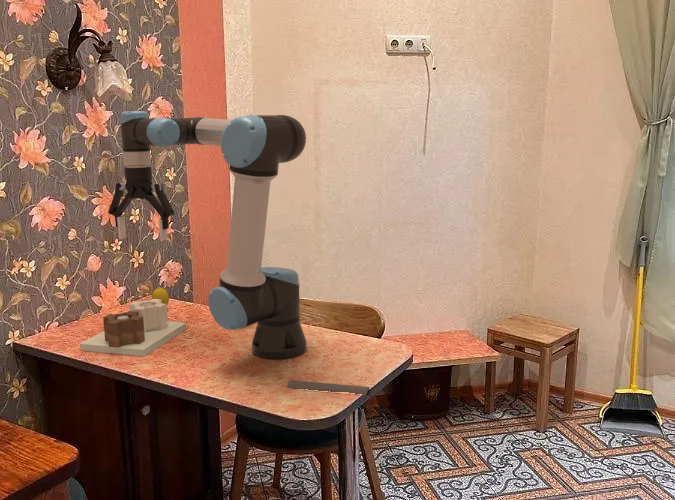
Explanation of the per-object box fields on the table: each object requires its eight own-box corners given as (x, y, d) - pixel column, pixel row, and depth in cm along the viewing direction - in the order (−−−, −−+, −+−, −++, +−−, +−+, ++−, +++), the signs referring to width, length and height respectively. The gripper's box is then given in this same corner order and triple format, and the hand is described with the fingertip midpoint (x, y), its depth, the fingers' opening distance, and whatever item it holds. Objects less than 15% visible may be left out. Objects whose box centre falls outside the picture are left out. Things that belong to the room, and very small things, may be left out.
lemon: (149, 312, 221) (148, 289, 219) (156, 307, 226) (155, 284, 224) (165, 312, 220) (163, 289, 218) (172, 308, 225) (170, 285, 223)
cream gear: (155, 333, 193) (154, 310, 191) (123, 330, 195) (121, 307, 194) (174, 322, 203) (173, 300, 201) (143, 319, 206) (141, 298, 204)
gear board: (186, 329, 203) (184, 300, 201) (143, 356, 180) (141, 325, 178) (128, 324, 208) (126, 296, 206) (80, 350, 186) (77, 319, 184)
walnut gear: (152, 335, 191) (150, 312, 189) (131, 348, 180) (129, 324, 179) (119, 333, 193) (117, 310, 192) (96, 345, 183) (94, 321, 182)
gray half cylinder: (292, 384, 163) (291, 377, 162) (370, 391, 158) (370, 384, 157) (286, 391, 159) (286, 384, 158) (366, 398, 154) (366, 391, 153)
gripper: (183, 165, 190) (187, 238, 194) (107, 164, 196) (113, 235, 201) (170, 167, 183) (174, 243, 187) (91, 166, 189) (98, 239, 194)
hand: (143, 239), depth 194 cm, fingers open, 13 cm apart
